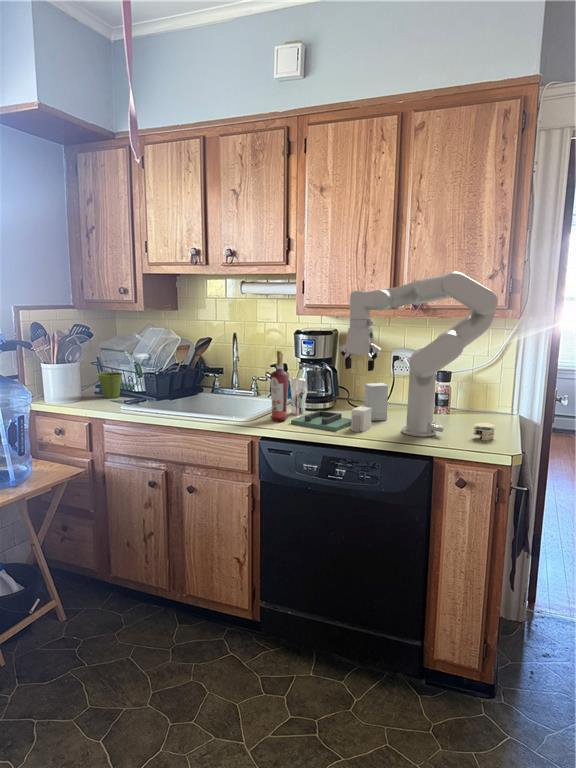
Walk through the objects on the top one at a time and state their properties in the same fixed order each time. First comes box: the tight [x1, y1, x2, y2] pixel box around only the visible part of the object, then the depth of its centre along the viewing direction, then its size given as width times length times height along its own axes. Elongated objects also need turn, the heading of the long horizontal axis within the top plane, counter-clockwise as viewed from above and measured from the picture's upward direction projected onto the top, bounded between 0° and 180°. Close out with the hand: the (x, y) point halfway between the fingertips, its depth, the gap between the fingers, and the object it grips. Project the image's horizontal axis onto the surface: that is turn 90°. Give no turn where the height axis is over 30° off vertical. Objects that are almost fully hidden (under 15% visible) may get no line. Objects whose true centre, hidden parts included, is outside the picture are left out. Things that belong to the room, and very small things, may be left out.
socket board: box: [290, 410, 352, 432], centre depth 208 cm, size 20×16×4 cm
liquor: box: [270, 350, 290, 422], centre depth 210 cm, size 7×7×28 cm
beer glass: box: [290, 377, 308, 416], centre depth 223 cm, size 7×7×15 cm
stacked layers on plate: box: [472, 422, 496, 441], centre depth 190 cm, size 10×9×6 cm
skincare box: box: [363, 382, 389, 422], centre depth 215 cm, size 8×6×15 cm
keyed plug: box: [350, 405, 372, 433], centre depth 199 cm, size 5×9×8 cm, turn 147°
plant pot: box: [96, 371, 124, 399], centre depth 252 cm, size 12×12×11 cm
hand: (359, 369), depth 199 cm, fingers open, 9 cm apart
